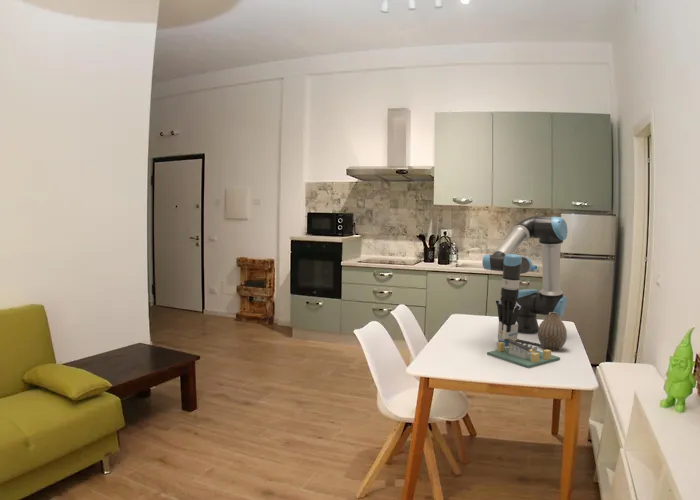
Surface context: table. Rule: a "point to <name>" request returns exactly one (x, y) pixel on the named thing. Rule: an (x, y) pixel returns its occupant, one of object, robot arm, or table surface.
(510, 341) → the strap
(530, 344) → the strap
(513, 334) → the ink box
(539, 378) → the table surface
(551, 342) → the vase
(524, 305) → the robot arm
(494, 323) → the table surface
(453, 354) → the table surface
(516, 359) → the board
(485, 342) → the table surface
